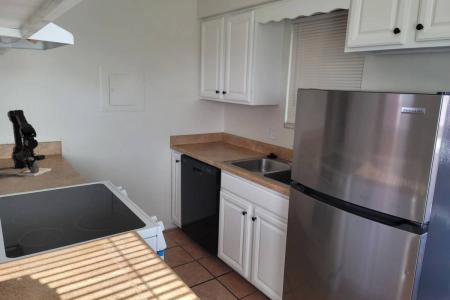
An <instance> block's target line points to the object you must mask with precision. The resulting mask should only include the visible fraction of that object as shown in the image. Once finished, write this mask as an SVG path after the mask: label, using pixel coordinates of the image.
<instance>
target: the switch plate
mask: <svg viewBox="0 0 450 300" xmlns="http://www.w3.org/2000/svg"><path fill="white" fill-rule="evenodd" d="M50 171H52V168H49V167H48V168H43V167H39V172H37V173H30V170H29V169H28V170H24V171H20V172H17V174H16V175H17V176H28V177H36V176H39V175H42V174H44V173H48V172H50Z"/></svg>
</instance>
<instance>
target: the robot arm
mask: <svg viewBox="0 0 450 300" xmlns="http://www.w3.org/2000/svg"><path fill="white" fill-rule="evenodd" d="M24 113H25V112H24V110H23V109H14V110H9V111H8V112H7V118H8V120H9V121H10V122H11V124H12V130H13V131H12V132H13V141H14V146H13V148H12V151H11V160H12V161H13V164H14V167H13V170H23V169H26V168H27V169H28V170H30V167H31V166H33V164H34V162H36V161H43V160H45V159H46V156H45V154H36V153H35V150H34V149H36V148H37V147H38V146H39V142H38V140H37V139H35V138H37V131H36V129H35V128H34V127H33V125H32V124H30V123H29V122H28V120H27V117H26V116H25V114H24Z"/></svg>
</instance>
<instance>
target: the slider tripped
mask: <svg viewBox="0 0 450 300" xmlns="http://www.w3.org/2000/svg"><path fill="white" fill-rule="evenodd" d="M39 168H40V166H39V165H38V164H37V165H34V166H31V167H30V173H37V172H39Z"/></svg>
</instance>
